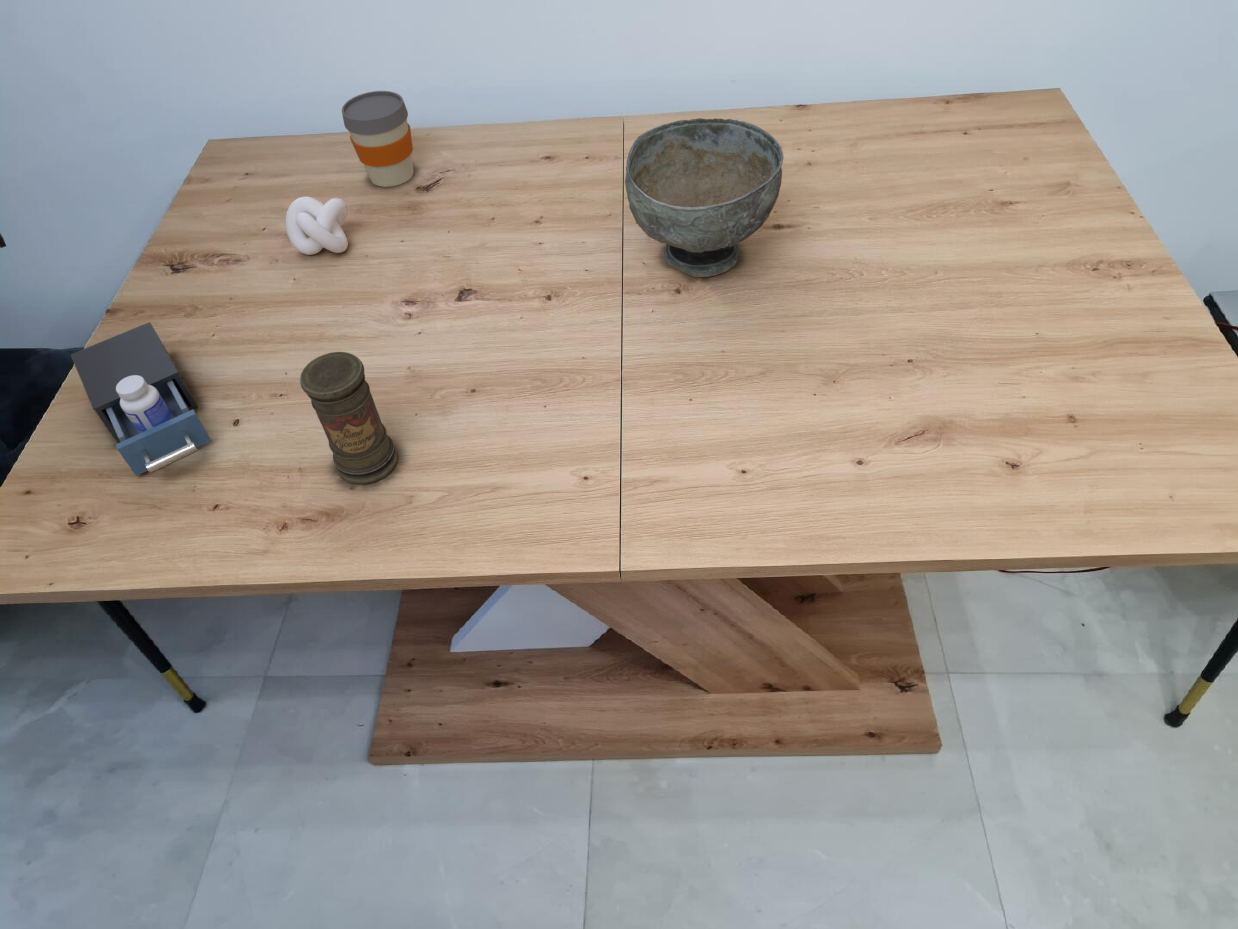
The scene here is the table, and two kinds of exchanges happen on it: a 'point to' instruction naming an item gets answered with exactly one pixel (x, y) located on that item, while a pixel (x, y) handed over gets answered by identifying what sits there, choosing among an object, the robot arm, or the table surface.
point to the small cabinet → (126, 368)
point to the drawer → (159, 434)
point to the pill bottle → (142, 403)
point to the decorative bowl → (703, 189)
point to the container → (349, 417)
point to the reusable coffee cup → (381, 136)
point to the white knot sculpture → (317, 225)
